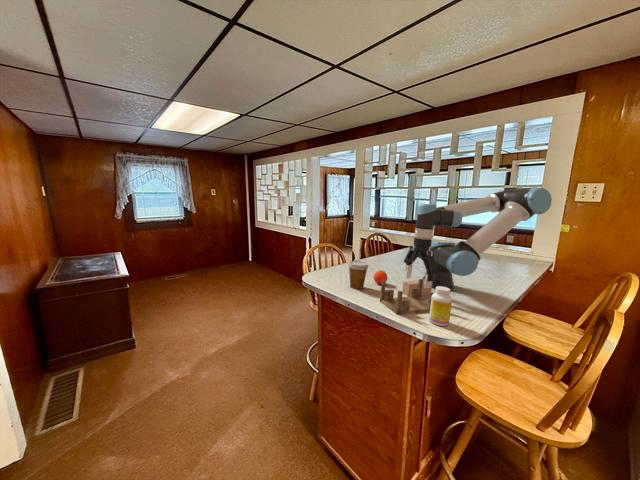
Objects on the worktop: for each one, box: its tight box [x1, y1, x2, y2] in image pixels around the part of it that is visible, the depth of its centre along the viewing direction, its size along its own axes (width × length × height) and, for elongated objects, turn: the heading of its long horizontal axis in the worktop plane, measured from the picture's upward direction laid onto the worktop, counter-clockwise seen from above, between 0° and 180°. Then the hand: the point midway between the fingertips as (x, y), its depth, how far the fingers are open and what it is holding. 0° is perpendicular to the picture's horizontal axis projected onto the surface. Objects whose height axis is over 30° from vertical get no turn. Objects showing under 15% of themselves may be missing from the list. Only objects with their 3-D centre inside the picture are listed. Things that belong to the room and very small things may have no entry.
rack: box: [379, 278, 432, 316], centre depth 107 cm, size 20×13×9 cm, turn 107°
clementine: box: [373, 270, 388, 285], centre depth 134 cm, size 8×7×7 cm
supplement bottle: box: [428, 286, 453, 327], centre depth 93 cm, size 7×7×13 cm
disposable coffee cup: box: [347, 260, 369, 290], centre depth 127 cm, size 10×10×12 cm
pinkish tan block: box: [401, 279, 433, 297], centre depth 123 cm, size 14×4×6 cm, turn 114°
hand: (417, 282), depth 122 cm, fingers open, 13 cm apart
